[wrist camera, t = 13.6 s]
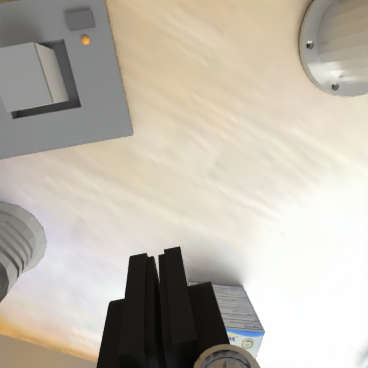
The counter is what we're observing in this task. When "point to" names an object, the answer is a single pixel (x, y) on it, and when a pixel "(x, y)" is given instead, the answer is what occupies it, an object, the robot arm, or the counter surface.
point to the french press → (18, 244)
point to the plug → (30, 77)
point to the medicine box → (239, 317)
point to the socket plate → (66, 76)
